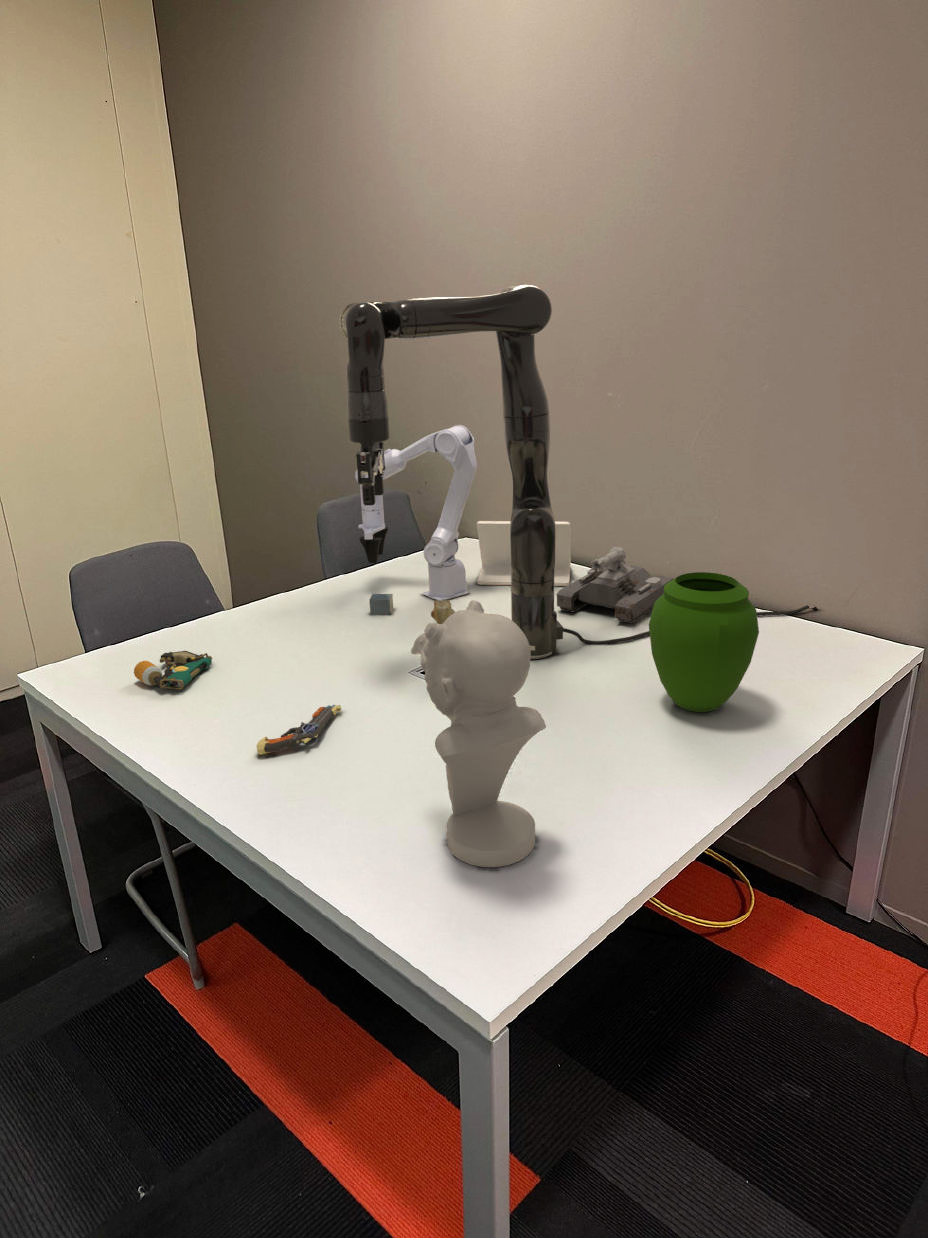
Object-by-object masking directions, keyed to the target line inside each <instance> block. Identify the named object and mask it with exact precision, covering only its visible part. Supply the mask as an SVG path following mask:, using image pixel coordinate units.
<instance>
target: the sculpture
mask: <svg viewBox="0 0 928 1238" xmlns="http://www.w3.org/2000/svg"><path fill="white" fill-rule="evenodd" d="M455 612H456V611H455V609H453V608H452V602H451V601H450V599H447V600H444V601H437V600H433V610H431V612H430V617H431V618H432V619H433V620H434V621H435V622H436V623H435V624H443V623H444V622H445V620H446V619H447V618H448V617H450V616H451V615H452V614H453V613H455Z"/></svg>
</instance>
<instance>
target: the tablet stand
mask: <svg viewBox="0 0 928 1238" xmlns="http://www.w3.org/2000/svg"><path fill="white" fill-rule="evenodd" d="M510 528H511V520H510V521H509V520H505V521H504V520H477V522H476V531H477V537H478V544H479V551H480V557H481V558H480V559H481V570H480V573H479V575H478V577H477V580H476V581H477V582H476V584H478V585H484V586H485V585H486V586H487V585H489V586H490V585H491V586H511V541H510ZM555 531H556V536H555V570H554V587H556V586H557V587H566V586H567V585H569V584H570V580H571V579H570V578H571V565H572V564H571V560H572V558H571V522H569V521H555Z"/></svg>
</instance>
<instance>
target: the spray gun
mask: <svg viewBox="0 0 928 1238" xmlns="http://www.w3.org/2000/svg"><path fill="white" fill-rule="evenodd" d="M212 660H213V657H212V656H211V655H208V653H207V652H205V653H201V654H197V653H194V652H192V651H191V652H190V651H188V650H180V651H169V652H164V653H162V654H161V655H160V658H159V660H158V662H159V663H161V664H163V663H165V664H166V668H165V670H163V672H164V674H163V673H162V669H160V668H159V666H157V665H156V664H154V663H152V662H151V661H149V660H141V661H139V662H138V663H136V665H135V666H134V668H133V675H134V677H135V678H136V679H137V680H139V681H140V682H142V683H143V684H145V685H147V686H155V685H157V686H158V687H160V688H161V689H171V690H172V689H173V690H182V689H184V687H185V686H186V685H188V684H189V683H190V682H191V681H192V679H193V678H195V677H196V676H197V675H198V674H200V673H201V672H202V671H203V670H206V669H208V668H209V667H210V666H211V665H212V662H213V661H212ZM178 663H179V664H181V665H179V666H176V665H177V664H178Z"/></svg>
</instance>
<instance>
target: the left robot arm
mask: <svg viewBox="0 0 928 1238" xmlns="http://www.w3.org/2000/svg"><path fill="white" fill-rule="evenodd" d="M428 452H431V453H434V454H436V453H438V454H440V455H441V456H442V457H443V458H444V459H445V460H446V461H448V463H450V465H451V467H452V468H453V475H452V478H451V481H450V485H449V487H448V492H447V494H446V497H445V500H444V504H443V508H442V511H441V515H440V518H439V520H438V523H437V527H436V529H435V530H434V532H433V534H432V535H431V537H430V541H429V542H428V543H427V544H426V545H425V546H424V548H423V557H424V560H425V561H426V562H427V570H428V571H427V573H428V574H427V575H428V590H427V591H423V592H422V595H423V596H426V597H428V598H430V599H433V600H434V601H445V600H450V599H454V598H457V597H461V596H465V595H468V594H469V591H468V590H467V578H466V577H467V575H466V574H467V572H466V571H467V570H466V567H465V565H464V563H463V562H462V561H461V559H458V558H456V557H455V555H456V554H457V553H458V550H459V541H458V540H459V536H460V532H459V531H458V529H459V526H460V523H461V521H462V517H463V514H464V511H465V507H466V503H467V502H468V497H469V495H470V492H471V488H472V485H473V482H474V478H475V476H476V473H477V469H478V461H477V456H476V452H475V438H474V436H473V435H472V433H471V431H470V430H469V429H468V428H467V427H466V426H465V425H462V424H455V425H453V426H451V427H449V428H445V429H442V430H438V431H436V432H432V433H430V434H428V435H426V436H424V437H422V438H420V439H419V440H417V441H415V442H414V443H412V444H410V445H409V446H407V447H405V448H404V449H402V450H399V449H397V448H392V449H391V448H388V449H385V450H384V460H385V471H384V475H383V481H385V480H387V479H388V478H390V477H392V476H394V475H396V474H398V473H400V472H401V471H404V470H405V469H406V466H407V463H408V462H409V461H411V460H413V459H415V458H417V457H419V456H421V455H423V454H425V453H428ZM354 477H355V481H356V483H358V472H357V469H356V470H355V474H354ZM365 478H368V475H365ZM358 485H359V491H360V493H359V494H360V504H361V505H360V506H361V519H362V523H361V524H358V526H357V527H358V529H360V530H362V532H363V536H359V543H360V544H361V545H362V547H363V550H364V552H365V555H366V558H367V562H368V564H377V563H378V561H379V556H383V553H384V549H385V543H386V542H385V541H386V537H387V533H388V531H389V527H388V526H386V524H385V512H384V510H385V509H384V496H383V495H384V494H383V495H375V504H374V505H367V506H366V505H364V504H363V492H362V486H361V484H358Z"/></svg>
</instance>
